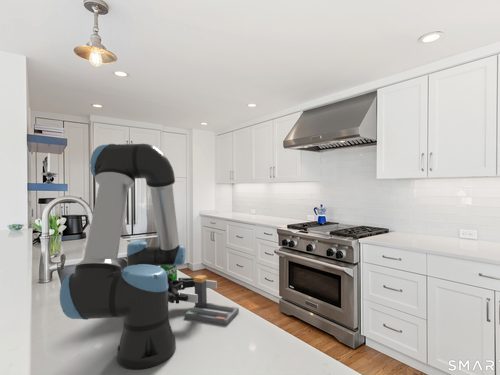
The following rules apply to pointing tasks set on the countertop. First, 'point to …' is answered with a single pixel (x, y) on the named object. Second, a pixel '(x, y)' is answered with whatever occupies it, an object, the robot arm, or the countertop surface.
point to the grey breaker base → (213, 313)
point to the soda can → (171, 271)
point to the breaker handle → (201, 291)
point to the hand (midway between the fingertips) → (207, 291)
